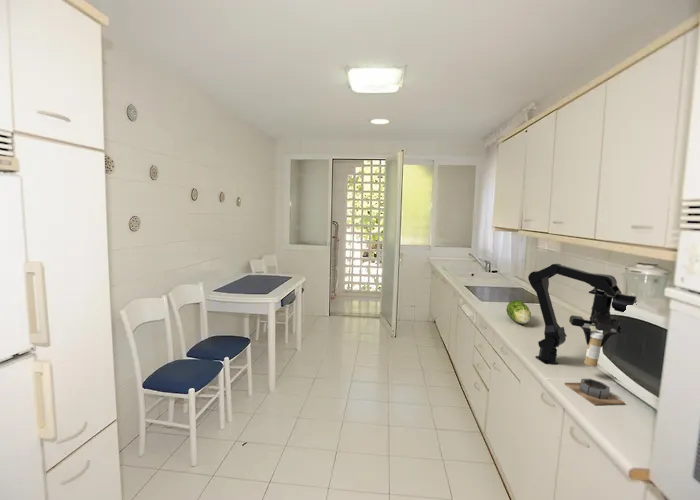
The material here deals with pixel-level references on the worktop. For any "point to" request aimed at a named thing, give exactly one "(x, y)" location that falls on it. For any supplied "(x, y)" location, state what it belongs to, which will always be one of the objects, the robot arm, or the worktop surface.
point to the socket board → (610, 401)
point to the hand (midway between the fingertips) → (594, 345)
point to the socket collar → (594, 388)
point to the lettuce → (518, 311)
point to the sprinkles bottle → (593, 348)
